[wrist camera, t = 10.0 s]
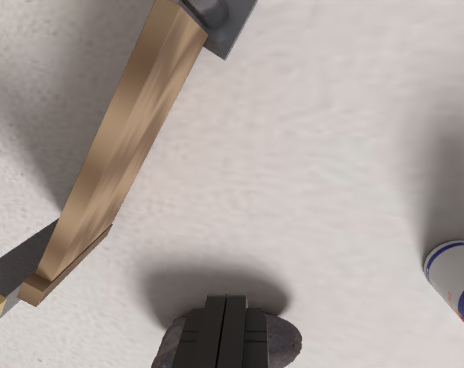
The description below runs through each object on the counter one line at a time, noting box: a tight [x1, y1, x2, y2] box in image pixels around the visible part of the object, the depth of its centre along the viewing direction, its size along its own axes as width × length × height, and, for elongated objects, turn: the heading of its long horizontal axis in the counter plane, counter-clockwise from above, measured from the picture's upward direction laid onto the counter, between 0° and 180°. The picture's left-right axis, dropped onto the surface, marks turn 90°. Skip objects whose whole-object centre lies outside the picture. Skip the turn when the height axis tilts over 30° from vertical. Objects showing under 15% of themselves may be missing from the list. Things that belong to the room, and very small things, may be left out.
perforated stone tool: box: [151, 314, 302, 368], centre depth 30 cm, size 15×5×7 cm, turn 98°
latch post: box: [0, 218, 59, 318], centre depth 24 cm, size 3×3×13 cm
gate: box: [17, 0, 208, 307], centre depth 22 cm, size 20×1×10 cm, turn 149°
